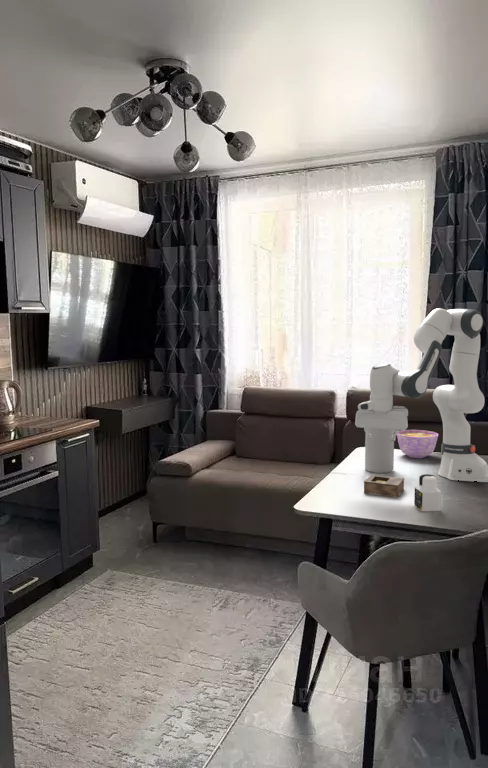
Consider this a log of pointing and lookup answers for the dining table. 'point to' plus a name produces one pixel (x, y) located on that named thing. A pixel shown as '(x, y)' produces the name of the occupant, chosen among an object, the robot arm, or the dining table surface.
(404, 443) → the bowl of food
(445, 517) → the dining table surface
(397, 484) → the brown wooden frame
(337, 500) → the dining table surface
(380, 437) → the cylinder vase
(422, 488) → the medicine bottle
